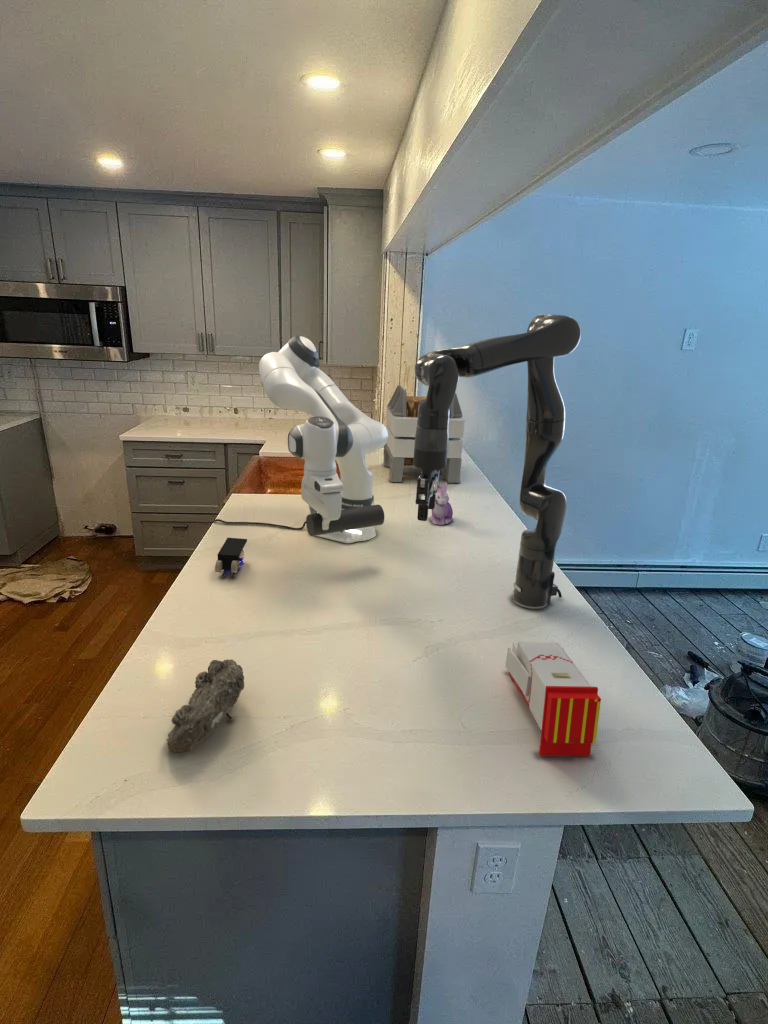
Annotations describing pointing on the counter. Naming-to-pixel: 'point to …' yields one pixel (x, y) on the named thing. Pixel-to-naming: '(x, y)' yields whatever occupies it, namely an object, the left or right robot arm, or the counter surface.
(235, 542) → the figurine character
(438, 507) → the figurine
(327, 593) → the counter surface
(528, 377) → the right robot arm
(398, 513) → the counter surface
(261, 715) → the counter surface
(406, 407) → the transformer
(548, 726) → the toy
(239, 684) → the fossil
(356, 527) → the rod
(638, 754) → the counter surface
